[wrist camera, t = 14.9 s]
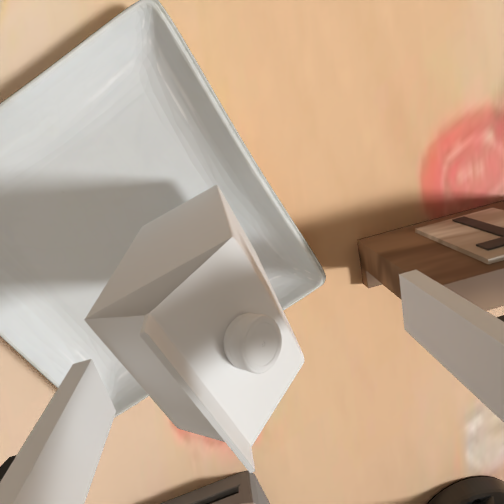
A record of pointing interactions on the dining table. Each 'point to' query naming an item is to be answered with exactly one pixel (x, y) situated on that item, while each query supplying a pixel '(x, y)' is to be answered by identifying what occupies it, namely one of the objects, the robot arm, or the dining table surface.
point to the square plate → (118, 187)
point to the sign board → (443, 255)
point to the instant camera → (226, 492)
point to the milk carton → (200, 324)
